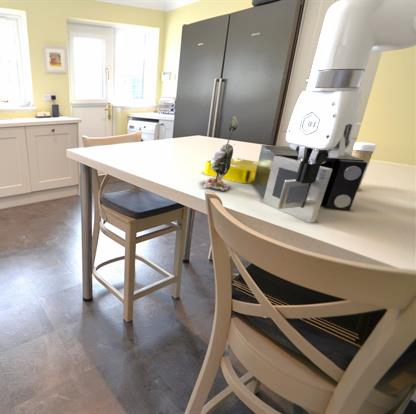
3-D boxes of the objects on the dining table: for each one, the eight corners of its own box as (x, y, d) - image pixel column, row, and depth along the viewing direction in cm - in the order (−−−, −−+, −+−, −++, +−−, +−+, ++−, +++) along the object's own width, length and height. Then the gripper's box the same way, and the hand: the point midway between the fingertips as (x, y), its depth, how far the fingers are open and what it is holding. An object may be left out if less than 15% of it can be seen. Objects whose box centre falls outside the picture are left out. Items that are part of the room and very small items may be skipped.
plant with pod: (235, 184, 85) (249, 115, 77) (223, 194, 77) (238, 117, 69) (208, 179, 90) (219, 113, 82) (194, 188, 81) (205, 115, 74)
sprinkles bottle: (335, 187, 85) (351, 141, 80) (347, 186, 86) (363, 141, 81) (351, 192, 81) (368, 144, 75) (363, 191, 82) (381, 144, 77)
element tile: (201, 174, 95) (203, 160, 94) (223, 167, 105) (225, 154, 103) (246, 184, 85) (249, 169, 83) (265, 176, 94) (269, 162, 93)
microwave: (351, 213, 66) (370, 162, 62) (266, 204, 70) (278, 156, 66) (321, 191, 81) (335, 149, 76) (252, 185, 85) (261, 144, 80)
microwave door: (287, 226, 58) (303, 171, 54) (242, 204, 70) (253, 157, 65) (315, 222, 61) (332, 168, 56) (267, 201, 72) (279, 155, 67)
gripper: (282, 83, 56) (262, 173, 63) (360, 81, 43) (324, 195, 50) (313, 84, 58) (290, 171, 65) (398, 81, 44) (357, 192, 51)
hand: (305, 181), depth 57 cm, fingers closed
